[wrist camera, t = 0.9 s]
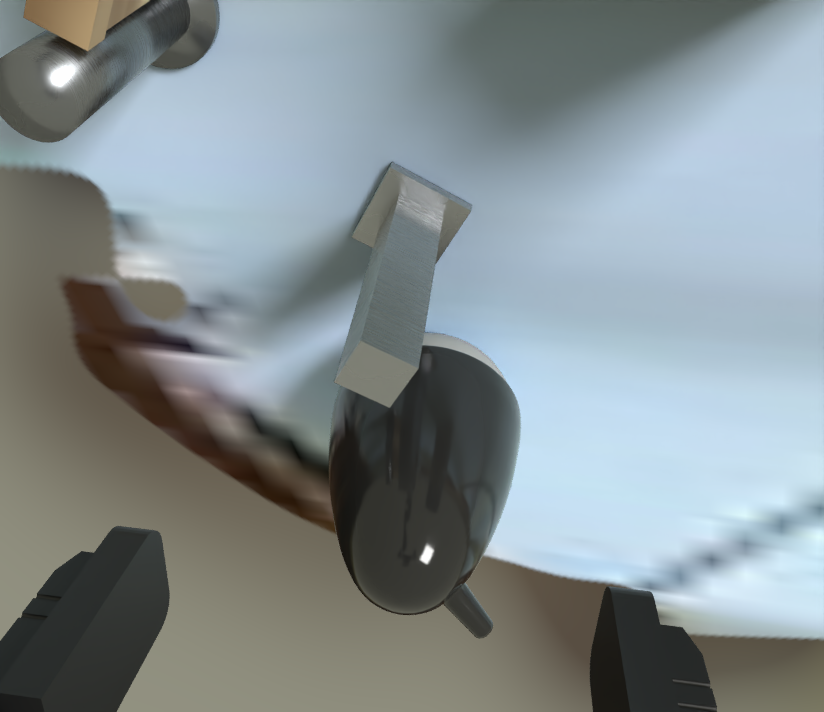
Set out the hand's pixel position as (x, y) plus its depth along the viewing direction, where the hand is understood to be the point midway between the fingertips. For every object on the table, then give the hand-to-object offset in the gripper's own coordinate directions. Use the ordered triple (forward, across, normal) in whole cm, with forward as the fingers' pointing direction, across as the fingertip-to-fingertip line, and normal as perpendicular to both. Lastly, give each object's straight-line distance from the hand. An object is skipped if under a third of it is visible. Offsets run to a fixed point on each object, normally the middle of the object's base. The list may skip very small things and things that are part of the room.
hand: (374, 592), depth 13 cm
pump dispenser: (+28, +1, +11) cm, 31 cm away
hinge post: (+24, +13, -8) cm, 29 cm away
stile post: (+26, +2, +1) cm, 26 cm away
